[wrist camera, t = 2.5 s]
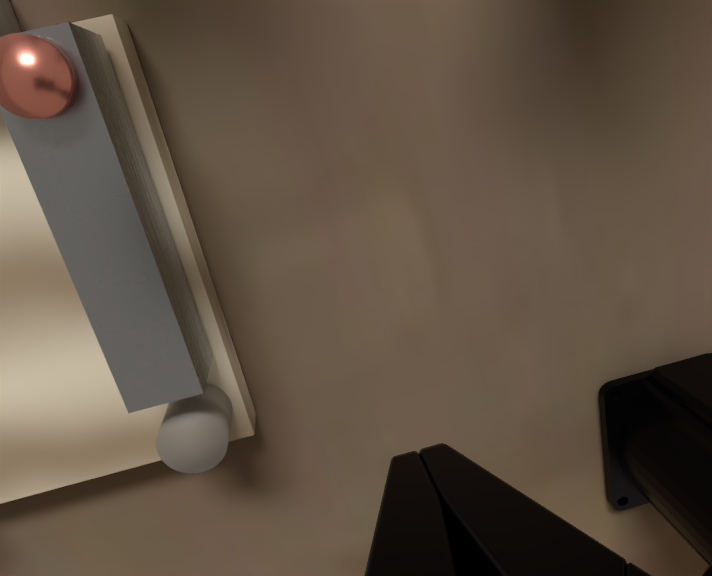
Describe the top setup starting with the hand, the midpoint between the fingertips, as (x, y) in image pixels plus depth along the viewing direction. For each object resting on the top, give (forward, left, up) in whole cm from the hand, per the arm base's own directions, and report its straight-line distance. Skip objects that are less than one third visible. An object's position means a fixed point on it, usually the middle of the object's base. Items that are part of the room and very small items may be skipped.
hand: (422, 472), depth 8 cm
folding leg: (+3, +6, -10) cm, 12 cm away
